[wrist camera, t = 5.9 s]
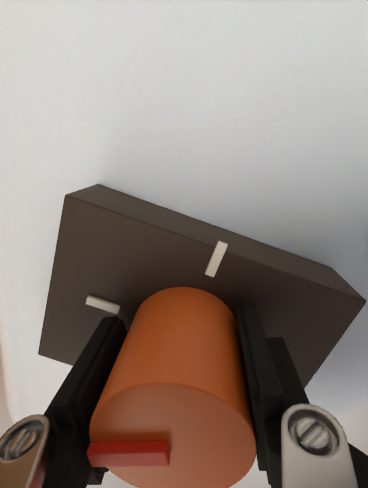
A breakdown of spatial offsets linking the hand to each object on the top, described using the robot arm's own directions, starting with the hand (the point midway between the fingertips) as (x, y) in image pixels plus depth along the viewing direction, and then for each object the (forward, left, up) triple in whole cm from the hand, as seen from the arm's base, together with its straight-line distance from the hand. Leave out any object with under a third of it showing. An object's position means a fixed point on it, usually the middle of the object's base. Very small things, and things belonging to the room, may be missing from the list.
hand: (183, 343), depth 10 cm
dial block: (0, 0, -4) cm, 4 cm away
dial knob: (0, 0, -1) cm, 1 cm away
